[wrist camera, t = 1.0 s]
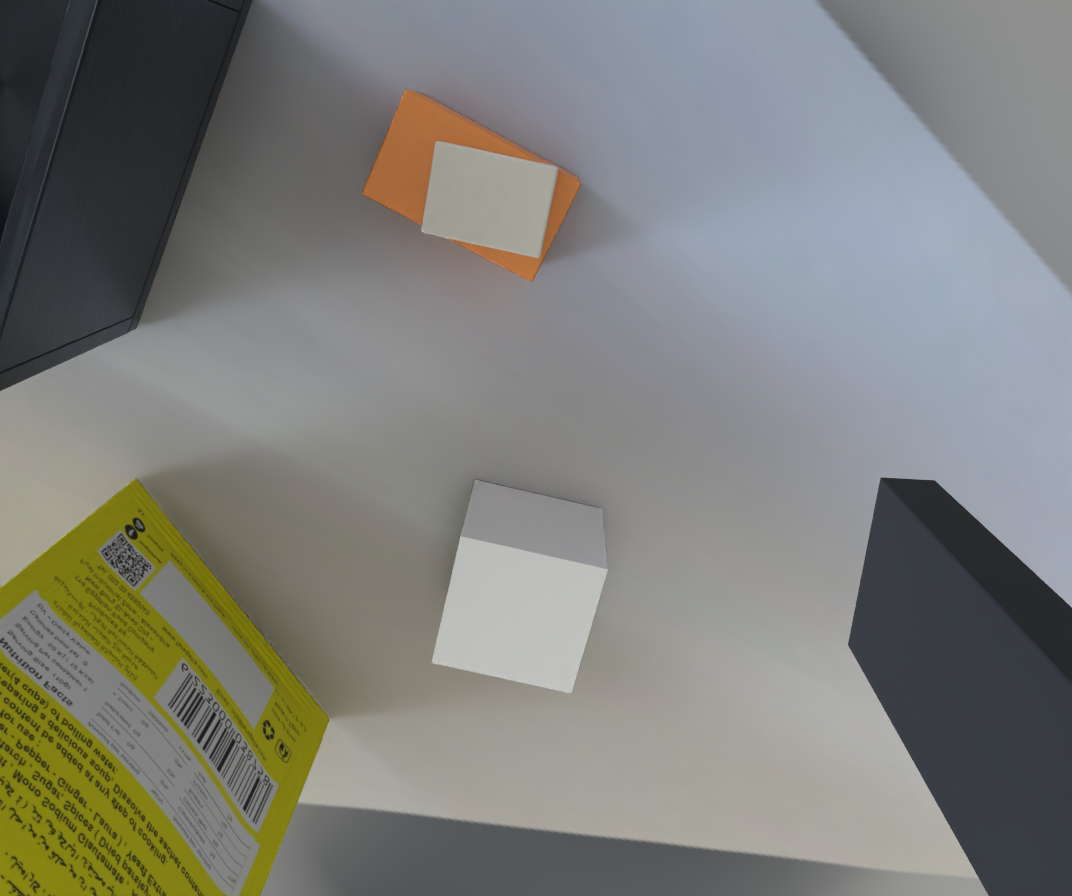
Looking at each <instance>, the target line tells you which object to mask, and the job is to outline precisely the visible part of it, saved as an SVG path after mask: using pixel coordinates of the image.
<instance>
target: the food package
mask: <svg viewBox="0 0 1072 896" xmlns="http://www.w3.org/2000/svg"><path fill="white" fill-rule="evenodd" d="M328 722H329V718H328V717H327V716H326V714H325V712H324V711H323V710H322V709H321V708H320V706H319V705H318V704H317V703H316V702H315V700H314V699H313V698H312V696H311V695H310V694H309V693H308V692H307V691H306V690H305V689H304V687H303V686H302V685H301V684H300V683H299V681H298V680H297V679H296V678H295V676H294V675H293V674H292V672H291V671H290V670H289V669H288V667H287V666H286V665H285V664H284V662H283V661H282V660H281V658H280V657H279V656H278V655H277V653H276V652H275V651H274V650H273V648H272V647H271V646H270V645H269V643H268V642H267V641H266V640H265V638H264V637H263V636H262V635H261V633H260V632H259V631H258V630H257V629H256V627H255V626H254V625H253V624H252V622H251V621H250V620H249V619H248V617H247V616H246V615H245V614H244V612H243V611H242V610H241V609H240V607H239V606H238V605H237V604H236V602H235V601H234V600H233V599H232V597H231V596H230V595H229V594H228V592H227V591H226V590H225V589H224V587H223V586H222V585H221V584H220V582H219V581H218V580H217V579H216V577H215V576H214V575H213V574H212V572H211V571H210V570H209V569H208V567H207V566H206V565H205V564H204V562H203V561H202V560H201V559H200V557H199V556H198V555H197V554H196V553H195V551H194V550H193V549H192V548H191V546H190V545H189V544H188V543H187V542H186V540H185V539H184V538H183V537H182V535H181V534H180V533H179V532H178V531H177V529H176V528H175V527H174V526H173V524H172V523H171V522H170V521H169V519H168V518H167V517H166V515H165V514H164V513H163V512H162V510H161V509H160V507H159V506H158V504H157V503H156V502H155V501H154V500H153V499H152V497H151V496H150V494H149V493H148V492H147V491H146V490H145V488H144V487H143V486H142V485H141V484H140V483H139V481H138V480H137V479H134V480H133V481H132V482H131V483H129V484H128V485H127V486H126V487H124V488H123V489H122V490H121V491H120V492H118V493H117V494H116V495H115V496H113V497H112V498H111V499H110V500H108V501H107V502H106V503H105V504H103V505H102V506H101V507H100V508H98V509H97V510H96V511H95V512H93V513H92V514H91V515H90V516H89V517H87V518H86V519H85V520H84V521H82V522H81V523H80V524H79V525H77V526H76V527H75V528H74V529H72V530H71V531H70V532H69V533H67V534H66V535H65V536H64V537H62V538H61V539H60V540H59V541H57V542H56V543H55V544H54V545H52V546H51V547H50V548H49V549H47V550H46V551H45V552H44V553H43V554H41V555H40V556H39V557H38V558H36V559H35V560H34V561H33V562H31V563H30V564H29V565H28V566H26V567H25V568H24V569H23V570H21V571H20V572H19V573H18V574H16V575H15V576H14V577H13V578H12V579H10V580H9V581H8V582H7V583H5V584H4V585H3V586H2V587H0V896H260V895H261V892H262V890H263V887H264V885H265V883H266V880H267V878H268V875H269V872H270V870H271V867H272V865H273V862H274V860H275V857H276V855H277V852H278V850H279V847H280V844H281V842H282V839H283V837H284V834H285V832H286V829H287V827H288V824H289V822H290V819H291V817H292V814H293V811H294V809H295V807H296V804H297V802H298V799H299V797H300V794H301V792H302V789H303V787H304V784H305V781H306V779H307V776H308V774H309V771H310V769H311V766H312V764H313V761H314V759H315V756H316V754H317V751H318V749H319V746H320V743H321V741H322V738H323V735H324V732H325V730H326V727H327V725H328Z"/></svg>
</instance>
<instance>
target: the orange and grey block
mask: <svg viewBox="0 0 1072 896" xmlns="http://www.w3.org/2000/svg"><path fill="white" fill-rule="evenodd" d="M580 186H581V182H580V179H579V177H577V176H575V175H573V174H571V173H570V172H568V171H566V170H564V169H562V168H560V167H558V166H557V165H555V164H553V163H551V162H549V161H547V160H545V159H543V158H542V157H540V156H538V155H536V154H534V153H532V152H530V151H529V150H527V149H525V148H523V147H521V146H519V145H517V144H515V143H514V142H512V141H510V140H508V139H506V138H504V137H502V136H501V135H499V134H497V133H495V132H493V131H491V130H489V129H487V128H486V127H484V126H482V125H480V124H478V123H476V122H474V121H473V120H471V119H469V118H467V117H465V116H463V115H461V114H460V113H458V112H456V111H454V110H452V109H450V108H448V107H446V106H445V105H443V104H441V103H439V102H437V101H435V100H433V99H432V98H430V97H428V96H426V95H424V94H421V93H417V92H414V91H410V90H405V92H404V94H403V96H402V99H401V101H400V103H399V106H398V108H397V111H396V113H395V115H394V118H393V120H392V122H391V125H390V127H389V130H388V132H387V134H386V137H385V139H384V141H383V144H382V146H381V149H380V151H379V153H378V156H377V158H376V160H375V163H374V165H373V168H372V170H371V172H370V175H369V177H368V179H367V182H366V184H365V187H364V189H363V191H362V194H363V195H364V196H366V197H368V198H370V199H372V200H374V201H376V202H378V203H380V204H381V205H383V206H385V207H387V208H389V209H391V210H393V211H395V212H397V213H399V214H401V215H403V216H405V217H407V218H409V219H411V220H413V221H414V222H416V223H418V224H420V225H422V228H421V231H422V232H423V233H425V234H430V235H434V236H439V237H444V238H448V239H449V240H451V241H453V242H455V243H457V244H459V245H461V246H463V247H465V248H467V249H469V250H471V251H473V252H475V253H477V254H479V255H481V256H482V257H484V258H486V259H488V260H490V261H492V262H494V263H496V264H498V265H500V266H502V267H504V268H506V269H508V270H510V271H512V272H514V273H516V274H517V275H519V276H521V277H523V278H525V279H527V280H529V281H533V279H534V277H535V275H536V273H537V271H538V269H539V267H540V265H541V263H542V261H543V259H544V257H545V255H546V253H547V251H548V249H549V247H550V245H551V243H552V241H553V239H554V237H555V235H556V233H557V231H558V230H559V228H560V226H561V224H562V222H563V220H564V218H565V216H566V214H567V212H568V210H569V208H570V206H571V204H572V202H573V200H574V198H575V196H576V194H577V192H578V190H579V188H580Z"/></svg>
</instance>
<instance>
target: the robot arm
mask: <svg viewBox="0 0 1072 896" xmlns="http://www.w3.org/2000/svg"><path fill="white" fill-rule="evenodd" d="M848 645H849V647H850V649H851V651H852V653H853V654H854V656H855V658H856V660H857V661H858V663H859V665H860V667H861V669H862V670H863V672H864V674H865V676H866V678H867V679H868V681H869V683H870V685H871V686H872V688H873V690H874V692H875V694H876V695H877V697H878V699H879V701H880V702H881V704H882V706H883V708H884V710H885V711H886V713H887V715H888V717H889V719H890V720H891V722H892V724H893V726H894V727H895V729H896V731H897V733H898V735H899V736H900V738H901V740H902V742H903V743H904V745H905V747H906V749H907V751H908V752H909V754H910V756H911V758H912V760H913V761H914V763H915V765H916V767H917V768H918V770H919V772H920V774H921V776H922V777H923V779H924V781H925V783H926V784H927V786H928V788H929V790H930V792H931V793H932V795H933V797H934V799H935V801H936V802H937V804H938V806H939V808H940V809H941V811H942V813H943V815H944V817H945V818H946V820H947V822H948V824H949V825H950V827H951V829H952V831H953V833H954V834H955V836H956V838H957V840H958V842H959V843H960V845H961V847H962V849H963V850H964V852H965V854H966V856H967V858H968V859H969V861H970V863H971V865H972V866H973V868H974V870H975V872H976V874H977V875H978V877H979V879H980V881H981V883H982V884H983V886H984V888H985V890H986V891H987V893H988V895H989V896H1072V607H1070V606H1069V605H1068V604H1067V603H1066V602H1065V601H1064V600H1063V599H1062V598H1061V597H1060V596H1059V595H1058V594H1056V593H1055V592H1054V591H1053V590H1052V589H1051V588H1050V587H1049V586H1048V585H1047V584H1046V583H1045V582H1044V581H1042V580H1041V579H1040V578H1039V577H1038V576H1037V575H1036V574H1035V573H1034V572H1033V571H1032V570H1031V569H1029V568H1028V567H1027V566H1026V565H1025V564H1024V563H1023V562H1022V561H1021V560H1020V559H1019V558H1018V557H1017V556H1015V555H1014V554H1013V553H1012V552H1011V551H1010V550H1009V549H1008V548H1007V547H1006V546H1005V545H1004V544H1002V543H1001V542H1000V541H999V540H998V539H997V538H996V537H995V536H994V535H993V534H992V533H991V532H990V531H988V530H987V529H986V528H985V527H984V526H983V525H982V524H981V523H980V522H979V521H978V520H977V519H976V518H974V517H973V516H972V515H971V514H970V513H969V512H968V511H967V510H966V509H965V508H964V507H963V506H961V505H960V504H959V503H958V502H957V501H956V500H955V499H954V498H953V497H952V496H951V495H950V494H949V493H947V492H946V491H945V490H944V489H943V488H942V487H941V486H940V485H939V484H938V483H937V482H936V481H933V480H915V479H897V478H881V479H880V484H879V489H878V494H877V499H876V504H875V509H874V515H873V520H872V525H871V530H870V535H869V540H868V545H867V551H866V556H865V561H864V566H863V571H862V576H861V581H860V587H859V592H858V597H857V602H856V607H855V612H854V617H853V622H852V628H851V633H850V638H849V643H848Z"/></svg>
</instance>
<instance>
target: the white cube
mask: <svg viewBox="0 0 1072 896" xmlns="http://www.w3.org/2000/svg"><path fill="white" fill-rule="evenodd" d="M607 572H608V564H607V554H606V544H605V535H604V525H603V515H602V509H601V508H596V507H592V506H588V505H583V504H579V503H575V502H570V501H566V500H562V499H557V498H553V497H548V496H544V495H540V494H535V493H531V492H527V491H522V490H518V489H514V488H509V487H505V486H501V485H496V484H492V483H488V482H483V481H479V480H475V481H474V485H473V489H472V493H471V497H470V501H469V505H468V509H467V513H466V517H465V521H464V524H463V528H462V532H461V536H460V541H459V545H458V549H457V554H456V558H455V562H454V567H453V571H452V576H451V580H450V584H449V589H448V593H447V597H446V602H445V606H444V611H443V615H442V619H441V624H440V628H439V632H438V637H437V641H436V645H435V650H434V654H433V659H432V663H435V664H439V665H444V666H448V667H453V668H457V669H462V670H467V671H471V672H476V673H480V674H485V675H489V676H494V677H499V678H503V679H508V680H512V681H517V682H521V683H526V684H531V685H535V686H540V687H544V688H549V689H554V690H558V691H563V692H567V693H572V689H573V686H574V683H575V679H576V676H577V672H578V669H579V666H580V662H581V659H582V656H583V652H584V649H585V646H586V642H587V639H588V635H589V632H590V629H591V625H592V622H593V619H594V615H595V612H596V609H597V605H598V602H599V598H600V595H601V592H602V588H603V585H604V582H605V578H606V575H607Z"/></svg>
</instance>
